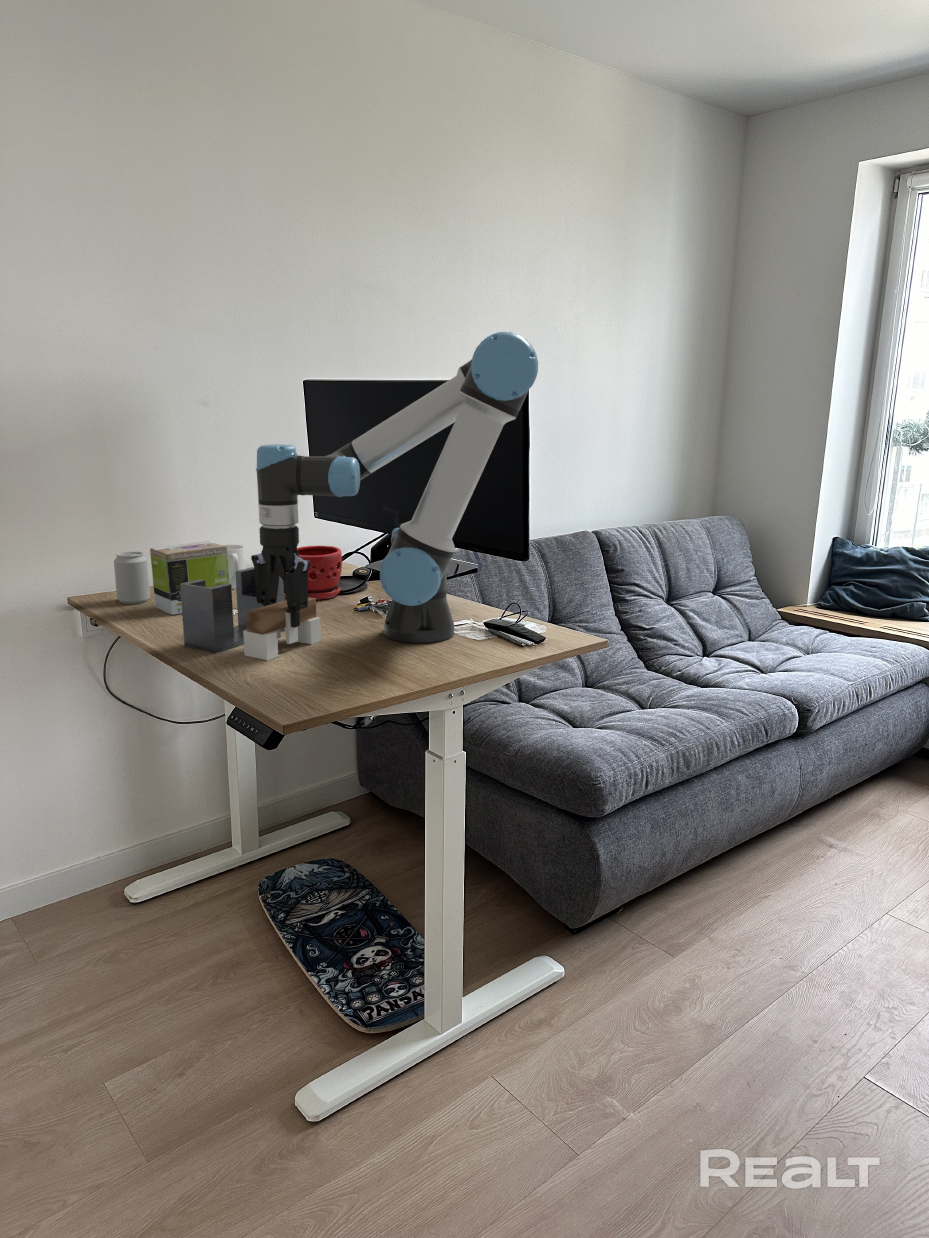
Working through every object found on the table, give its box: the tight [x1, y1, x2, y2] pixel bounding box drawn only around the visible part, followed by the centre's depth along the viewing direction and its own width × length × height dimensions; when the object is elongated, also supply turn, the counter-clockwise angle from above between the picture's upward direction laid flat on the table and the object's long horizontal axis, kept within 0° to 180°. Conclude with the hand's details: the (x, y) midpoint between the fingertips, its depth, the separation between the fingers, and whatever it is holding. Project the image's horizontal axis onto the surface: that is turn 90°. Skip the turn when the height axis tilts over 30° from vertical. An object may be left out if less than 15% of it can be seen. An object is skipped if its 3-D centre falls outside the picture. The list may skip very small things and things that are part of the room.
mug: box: [222, 544, 247, 590], centre depth 227 cm, size 12×8×10 cm, turn 26°
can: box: [113, 551, 151, 605], centre depth 211 cm, size 8×8×12 cm
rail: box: [246, 597, 317, 635], centre depth 175 cm, size 4×16×4 cm, turn 150°
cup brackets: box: [180, 566, 286, 654], centre depth 181 cm, size 9×20×13 cm, turn 150°
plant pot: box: [295, 545, 343, 601], centre depth 219 cm, size 13×13×12 cm
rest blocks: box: [243, 616, 322, 661], centre depth 176 cm, size 6×16×5 cm, turn 150°
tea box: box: [149, 540, 230, 616], centre depth 206 cm, size 15×10×15 cm
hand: (283, 640), depth 176 cm, fingers closed on rail, 4 cm apart
